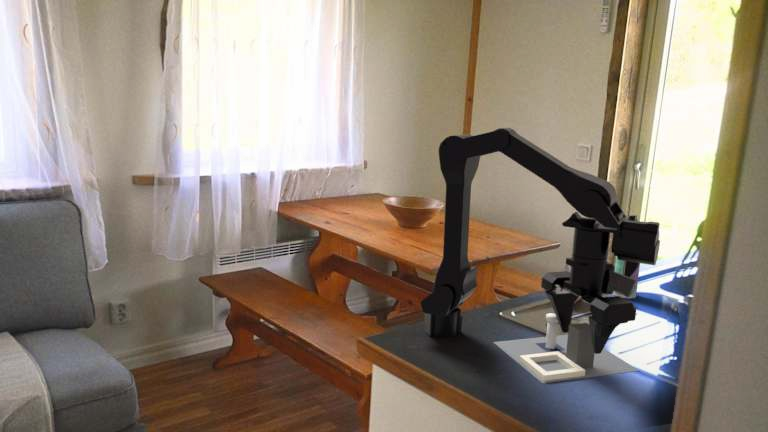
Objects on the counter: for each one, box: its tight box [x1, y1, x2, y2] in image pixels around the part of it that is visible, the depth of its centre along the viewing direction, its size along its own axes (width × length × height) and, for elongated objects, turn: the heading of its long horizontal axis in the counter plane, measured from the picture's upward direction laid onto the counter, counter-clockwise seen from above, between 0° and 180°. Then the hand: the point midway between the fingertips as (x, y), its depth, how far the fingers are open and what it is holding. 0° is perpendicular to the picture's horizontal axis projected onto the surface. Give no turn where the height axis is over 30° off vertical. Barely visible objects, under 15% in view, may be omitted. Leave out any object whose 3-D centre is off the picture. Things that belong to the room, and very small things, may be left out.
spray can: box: [612, 214, 641, 299], centre depth 148 cm, size 6×6×20 cm
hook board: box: [492, 312, 640, 384], centre depth 109 cm, size 19×17×8 cm
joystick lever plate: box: [519, 322, 594, 381], centre depth 104 cm, size 11×8×7 cm
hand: (580, 342), depth 105 cm, fingers open, 9 cm apart
